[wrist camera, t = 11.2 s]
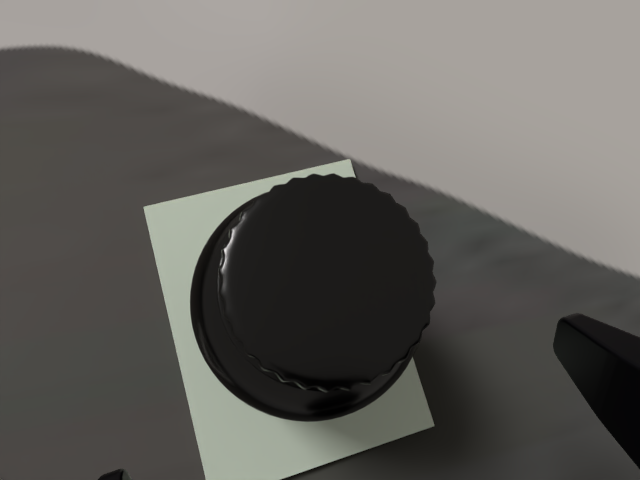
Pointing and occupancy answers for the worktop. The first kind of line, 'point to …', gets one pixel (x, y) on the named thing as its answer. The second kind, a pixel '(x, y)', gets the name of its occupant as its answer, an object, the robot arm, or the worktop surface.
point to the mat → (220, 404)
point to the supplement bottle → (312, 297)
